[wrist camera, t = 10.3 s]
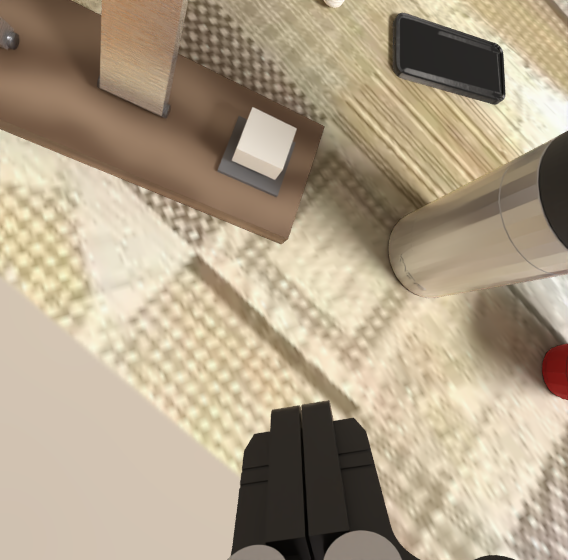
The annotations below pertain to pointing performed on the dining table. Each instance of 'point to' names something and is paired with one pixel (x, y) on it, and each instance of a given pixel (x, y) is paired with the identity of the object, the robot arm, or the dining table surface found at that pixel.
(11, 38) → the grey upright post
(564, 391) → the plastic cup
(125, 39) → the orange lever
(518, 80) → the dining table surface
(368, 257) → the dining table surface
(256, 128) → the white button
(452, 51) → the phone
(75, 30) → the walnut panel
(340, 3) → the lightbulb
